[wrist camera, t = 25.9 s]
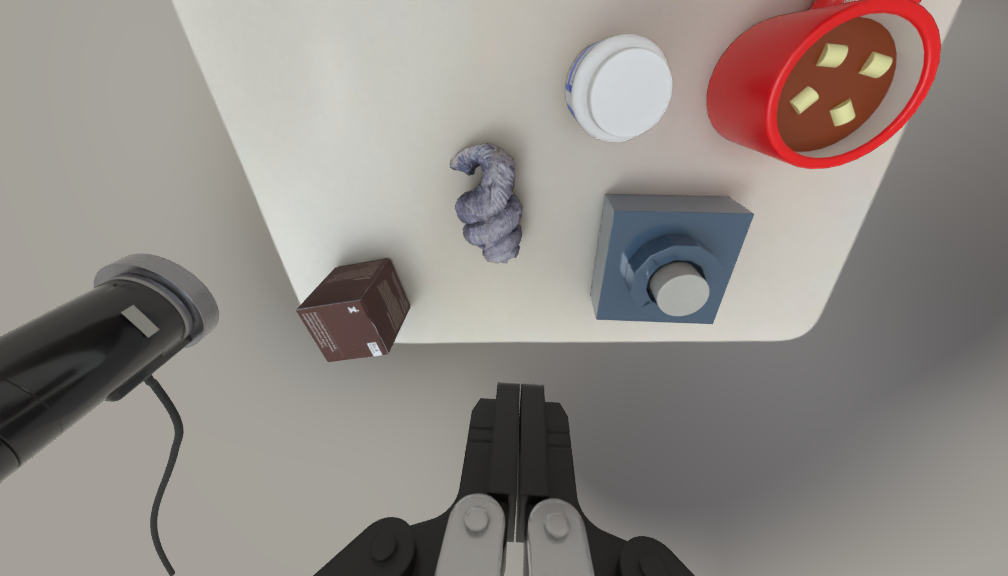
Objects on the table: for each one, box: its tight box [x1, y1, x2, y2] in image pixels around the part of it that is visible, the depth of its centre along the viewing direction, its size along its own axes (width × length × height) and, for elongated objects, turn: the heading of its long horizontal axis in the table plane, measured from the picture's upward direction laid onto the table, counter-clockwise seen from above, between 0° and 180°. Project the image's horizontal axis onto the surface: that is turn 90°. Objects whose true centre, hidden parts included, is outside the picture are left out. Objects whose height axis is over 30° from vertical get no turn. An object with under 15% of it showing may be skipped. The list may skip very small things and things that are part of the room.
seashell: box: [450, 143, 522, 263], centre depth 29 cm, size 5×5×10 cm
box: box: [296, 259, 410, 362], centre depth 34 cm, size 6×6×7 cm
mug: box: [707, 0, 941, 169], centre depth 21 cm, size 8×12×8 cm, turn 166°
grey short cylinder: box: [650, 262, 709, 316], centre depth 27 cm, size 4×4×2 cm
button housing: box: [590, 194, 754, 324], centre depth 30 cm, size 10×10×6 cm
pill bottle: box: [565, 34, 672, 142], centre depth 22 cm, size 5×5×10 cm
